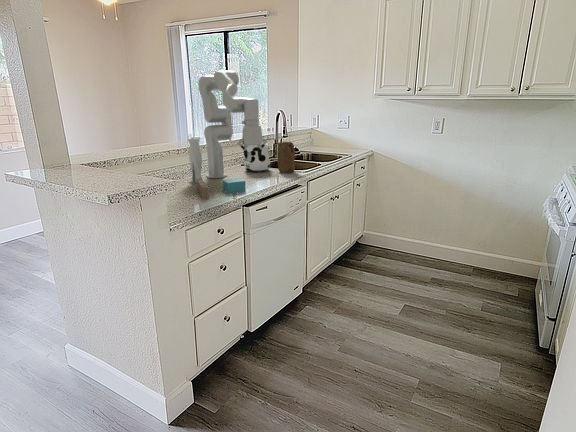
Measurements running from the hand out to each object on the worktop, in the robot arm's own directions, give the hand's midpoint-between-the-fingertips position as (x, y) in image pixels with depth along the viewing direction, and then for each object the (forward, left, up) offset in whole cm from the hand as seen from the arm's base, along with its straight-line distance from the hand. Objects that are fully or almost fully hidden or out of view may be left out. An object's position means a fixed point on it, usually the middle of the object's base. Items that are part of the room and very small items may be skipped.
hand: (252, 156), depth 204 cm
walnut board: (0, -28, -18) cm, 33 cm away
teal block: (0, -11, -18) cm, 21 cm away
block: (-36, +33, -18) cm, 52 cm away
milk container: (-48, +16, -18) cm, 53 cm away
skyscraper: (-28, -27, -18) cm, 43 cm away
